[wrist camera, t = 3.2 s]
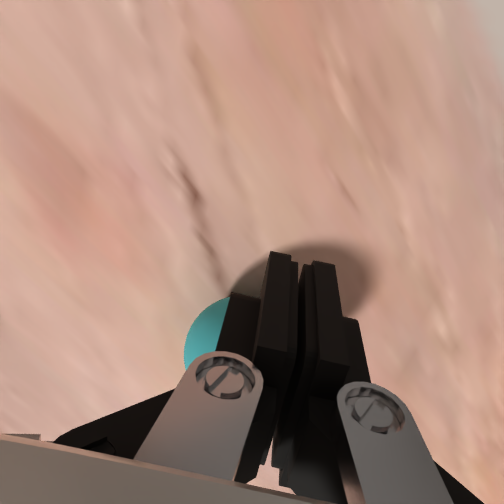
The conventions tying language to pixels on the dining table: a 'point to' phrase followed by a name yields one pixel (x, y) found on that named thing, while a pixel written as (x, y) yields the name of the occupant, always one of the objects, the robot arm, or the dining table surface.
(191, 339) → the ball
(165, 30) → the dining table surface
